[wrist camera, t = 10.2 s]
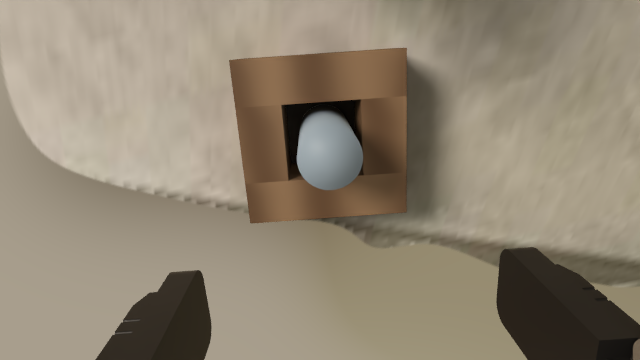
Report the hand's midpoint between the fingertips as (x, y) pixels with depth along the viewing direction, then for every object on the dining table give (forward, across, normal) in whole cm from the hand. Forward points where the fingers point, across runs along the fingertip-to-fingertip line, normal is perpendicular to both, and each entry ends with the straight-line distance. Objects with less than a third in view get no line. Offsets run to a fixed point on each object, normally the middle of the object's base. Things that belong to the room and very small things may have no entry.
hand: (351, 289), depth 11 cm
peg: (+24, 0, 0) cm, 24 cm away
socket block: (+24, 0, 0) cm, 24 cm away
